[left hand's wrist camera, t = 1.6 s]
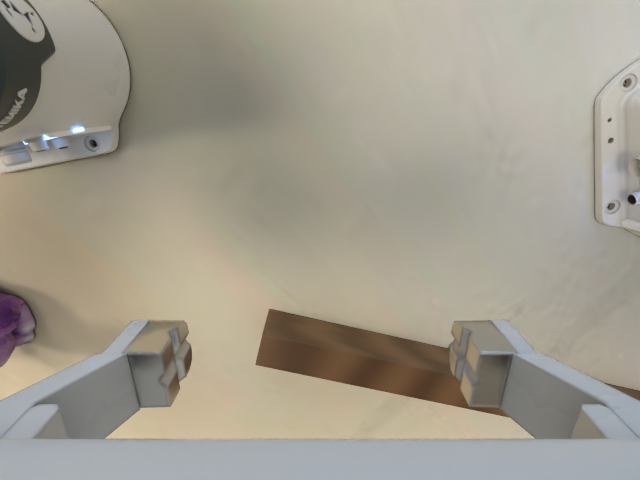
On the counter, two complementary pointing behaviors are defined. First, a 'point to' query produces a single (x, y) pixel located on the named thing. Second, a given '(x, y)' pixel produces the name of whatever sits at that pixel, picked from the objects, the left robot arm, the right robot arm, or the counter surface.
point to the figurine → (14, 325)
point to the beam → (365, 359)
